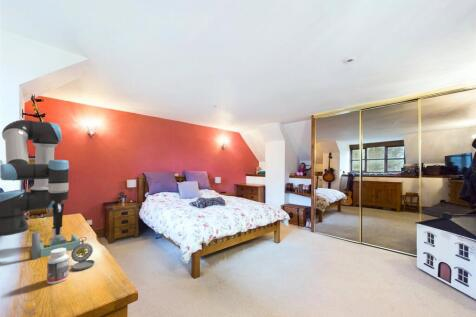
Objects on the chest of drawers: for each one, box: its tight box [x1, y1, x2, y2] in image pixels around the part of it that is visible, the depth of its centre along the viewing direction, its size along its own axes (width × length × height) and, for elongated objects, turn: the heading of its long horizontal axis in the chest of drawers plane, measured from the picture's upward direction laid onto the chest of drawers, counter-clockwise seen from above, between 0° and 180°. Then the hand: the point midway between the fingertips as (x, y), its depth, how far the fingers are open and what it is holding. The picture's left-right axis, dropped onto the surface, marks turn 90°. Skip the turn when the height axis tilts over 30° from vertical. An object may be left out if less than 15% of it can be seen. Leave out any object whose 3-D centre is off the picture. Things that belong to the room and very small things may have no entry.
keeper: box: [31, 230, 81, 260], centre depth 94 cm, size 15×16×10 cm
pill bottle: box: [46, 248, 70, 285], centre depth 68 cm, size 5×5×10 cm
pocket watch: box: [70, 236, 95, 271], centre depth 78 cm, size 8×8×10 cm
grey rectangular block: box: [49, 235, 67, 247], centre depth 96 cm, size 7×5×4 cm
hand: (57, 241), depth 99 cm, fingers closed
